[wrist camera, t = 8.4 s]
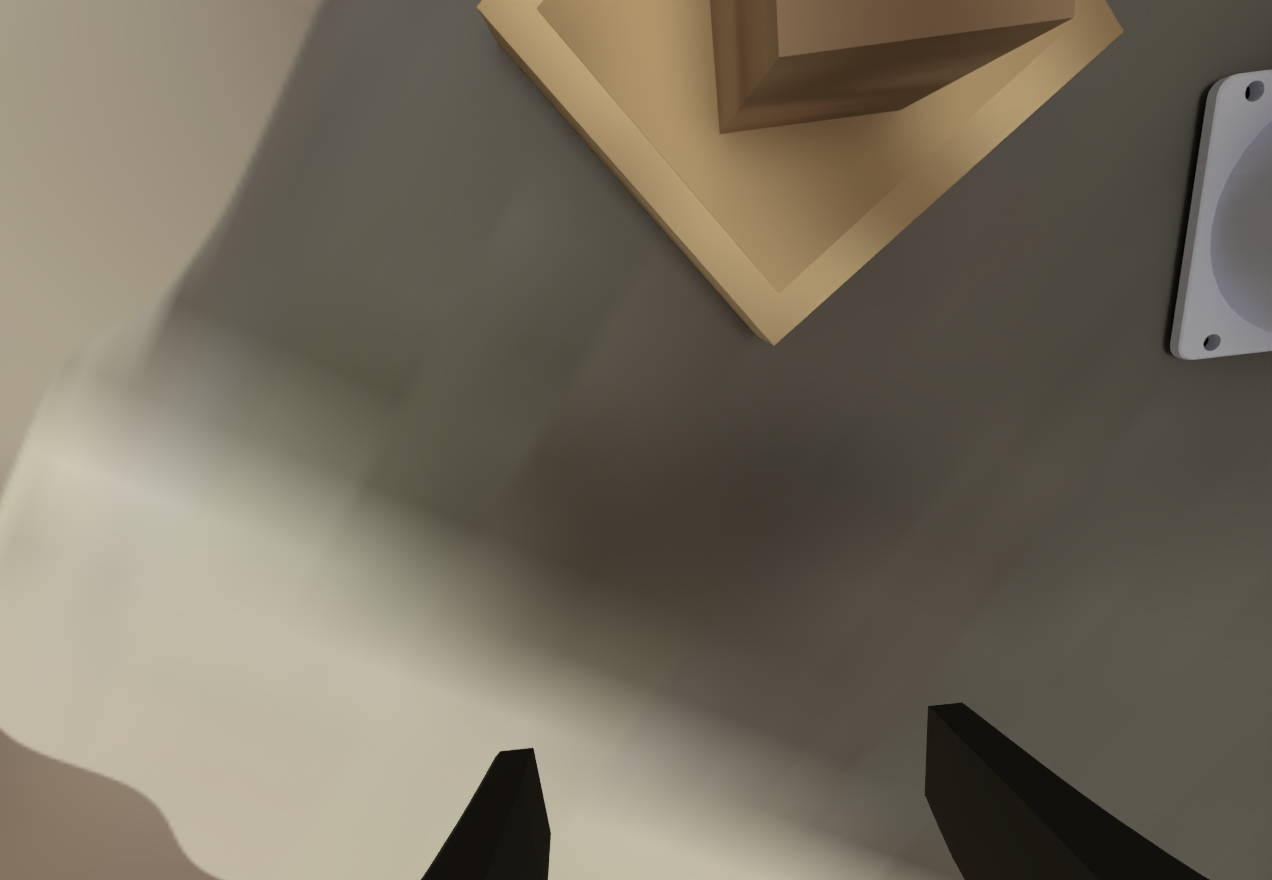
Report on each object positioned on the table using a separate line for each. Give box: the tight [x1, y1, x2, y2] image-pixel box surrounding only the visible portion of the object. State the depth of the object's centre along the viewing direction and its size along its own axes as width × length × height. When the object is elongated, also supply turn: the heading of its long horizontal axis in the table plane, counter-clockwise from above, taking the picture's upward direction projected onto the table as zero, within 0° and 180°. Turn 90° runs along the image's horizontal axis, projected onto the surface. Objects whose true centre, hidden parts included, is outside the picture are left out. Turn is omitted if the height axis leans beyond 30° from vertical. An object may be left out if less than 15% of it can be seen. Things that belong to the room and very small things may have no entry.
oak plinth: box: [477, 0, 1124, 346], centre depth 15 cm, size 11×11×3 cm
